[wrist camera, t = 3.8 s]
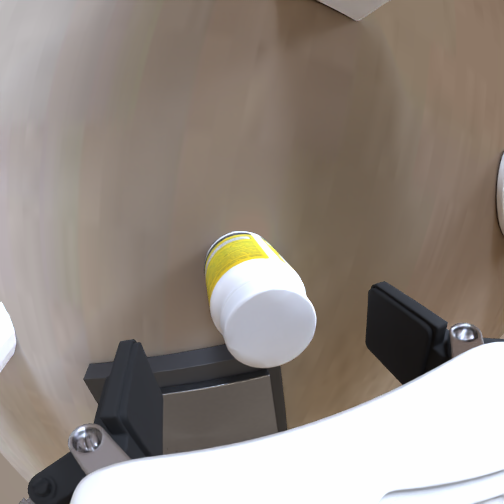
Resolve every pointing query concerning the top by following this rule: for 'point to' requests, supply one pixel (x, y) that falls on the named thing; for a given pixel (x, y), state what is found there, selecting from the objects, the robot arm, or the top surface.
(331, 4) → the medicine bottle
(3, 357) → the mug
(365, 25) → the top surface
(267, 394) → the scale pan
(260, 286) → the supplement bottle
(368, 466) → the robot arm
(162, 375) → the scale
